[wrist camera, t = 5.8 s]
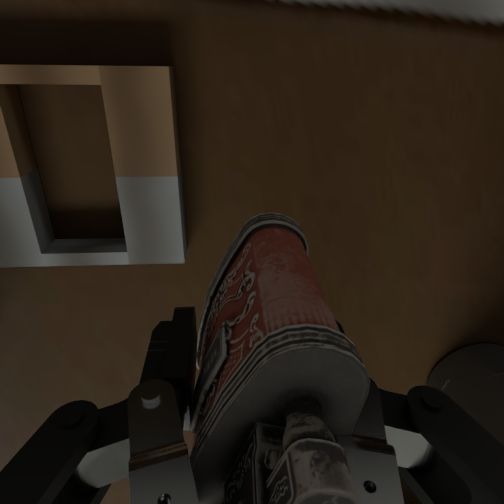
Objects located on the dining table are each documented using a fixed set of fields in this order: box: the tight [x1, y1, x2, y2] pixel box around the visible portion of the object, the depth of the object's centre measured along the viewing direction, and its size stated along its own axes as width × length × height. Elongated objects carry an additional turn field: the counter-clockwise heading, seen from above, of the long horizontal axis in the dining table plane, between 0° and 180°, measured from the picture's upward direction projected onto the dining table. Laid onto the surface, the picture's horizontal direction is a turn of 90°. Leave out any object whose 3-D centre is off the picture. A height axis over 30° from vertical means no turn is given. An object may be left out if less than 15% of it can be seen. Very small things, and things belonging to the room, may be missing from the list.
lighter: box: [190, 212, 370, 504], centre depth 11 cm, size 8×3×10 cm, turn 160°
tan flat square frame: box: [0, 64, 187, 267], centre depth 25 cm, size 14×13×2 cm
